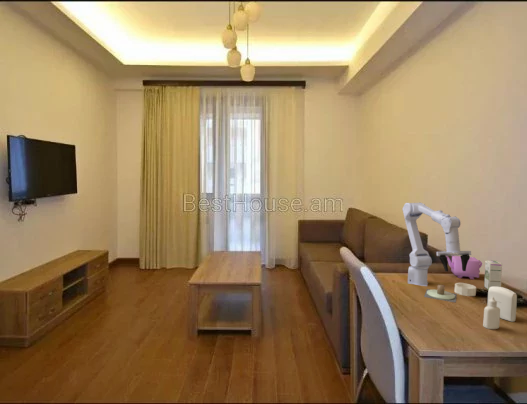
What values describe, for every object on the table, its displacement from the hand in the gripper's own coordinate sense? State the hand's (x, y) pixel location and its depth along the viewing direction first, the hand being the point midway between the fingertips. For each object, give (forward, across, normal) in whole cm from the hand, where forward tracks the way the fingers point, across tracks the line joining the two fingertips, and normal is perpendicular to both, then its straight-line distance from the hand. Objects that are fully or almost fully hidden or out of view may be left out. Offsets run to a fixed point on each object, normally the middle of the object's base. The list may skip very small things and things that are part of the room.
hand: (455, 271), depth 159 cm
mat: (+12, -6, +4) cm, 14 cm away
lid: (+12, -6, +4) cm, 14 cm away
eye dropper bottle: (+19, +2, -28) cm, 33 cm away
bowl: (+12, +7, +11) cm, 18 cm away
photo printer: (+17, +10, -16) cm, 26 cm away
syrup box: (+12, +23, +22) cm, 34 cm away
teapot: (+8, +16, +42) cm, 46 cm away
